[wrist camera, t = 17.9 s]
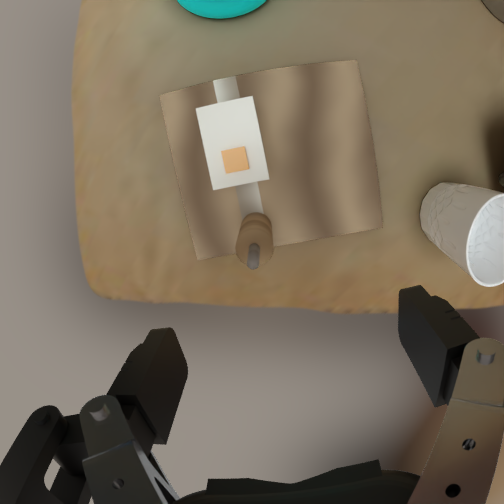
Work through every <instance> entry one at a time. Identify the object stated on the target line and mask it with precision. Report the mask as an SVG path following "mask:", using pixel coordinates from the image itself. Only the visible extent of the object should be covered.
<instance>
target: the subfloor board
mask: <svg viewBox="0 0 504 504" xmlns="http://www.w3.org/2000/svg"><path fill="white" fill-rule="evenodd" d="M159 96H160V101H161V106H162V111H163V116H164V121H165V126H166V130H167V135H168V140H169V144H170V149H171V154H172V158H173V163H174V167H175V171H176V176H177V180H178V184H179V188H180V193H181V197H182V201H183V205H184V209H185V213H186V217H187V221H188V225H189V229H190V233H191V237H192V241H193V245H194V248H195V252H196V256H197V260H202V259H208V258H214V257H219V256H225V255H231V254H236V250H235V246H236V241H237V238H238V234H239V230H240V227H241V223H242V221H243V219H244V218H245V217H246V216H247V215H248V214H250V213H253V212H259V213H262V214H264V215H266V216H267V217H268V218H269V219H270V221H271V224H272V235H273V246H274V247H276V246H282V245H287V244H293V243H299V242H304V241H310V240H316V239H322V238H327V237H333V236H339V235H344V234H350V233H356V232H361V231H367V230H373V229H378V228H383V221H382V210H381V199H380V190H379V181H378V173H377V165H376V158H375V151H374V145H373V138H372V132H371V126H370V121H369V115H368V110H367V105H366V100H365V95H364V90H363V86H362V81H361V77H360V72H359V68H358V64H357V60H347V61H333V62H322V63H313V64H304V65H296V66H289V67H282V68H275V69H269V70H263V71H257V72H252V73H247V74H242V75H237V76H232V77H227V78H223V79H218V80H214V81H210V82H206V83H202V84H198V85H194V86H190V87H186V88H183V89H179V90H176V91H172V92H169V93H166V94H162V95H159ZM249 96H253V100H254V104H255V109H256V113H257V118H258V123H259V128H260V133H261V138H262V143H263V148H264V153H265V158H266V163H267V168H268V173H269V179H268V180H263V181H257V182H252V183H247V184H242V185H237V186H232V187H227V188H222V189H217V190H213V187H212V183H211V178H210V174H209V169H208V164H207V160H206V155H205V151H204V146H203V141H202V137H201V132H200V127H199V123H198V118H197V113H196V108H200V107H204V106H208V105H212V104H216V103H220V102H225V101H230V100H234V99H239V98H244V97H249Z"/></svg>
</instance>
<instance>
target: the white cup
mask: <svg viewBox="0 0 504 504" xmlns="http://www.w3.org/2000/svg"><path fill="white" fill-rule="evenodd" d="M420 221H421V228H422V230H423V231H424V233H425V234H426V236H427V237H428V239H429V240H430V241H432V242H433V243H434V244H435V245H437V247H438V248H439V249H440V250H441V251H442V252H443V253H445V254H446V255H447V256H448V257H449V258H450V259H451V260H452V261H453V262H455V263H456V264H457V265H458V266H459V267H460V268H461V269H463V270H464V271H465V272H466V273H467V274H468V275H469V276H470V277H472V278H473V279H474V280H475V281H476V282H477V283H479V284H480V285H482V286H486V287H492V286H497V285H499V284H501V283H503V282H504V193H503V192H499V191H495V190H491V189H487V188H482V187H477V186H471V185H466V184H457V183H439V184H438V185H436V186H434V187H433V188H431V189H430V190H429V192H428V193H427V195H426V196H425V198H424V199H423V201H422V206H421V210H420Z"/></svg>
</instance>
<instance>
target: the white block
mask: <svg viewBox="0 0 504 504" xmlns="http://www.w3.org/2000/svg"><path fill="white" fill-rule="evenodd" d="M196 113H197V118H198V123H199V127H200V132H201V137H202V141H203V146H204V151H205V155H206V160H207V164H208V169H209V174H210V178H211V183H212V187H213V190H217V189H222V188H227V187H232V186H237V185H242V184H247V183H252V182H257V181H263V180H268V179H269V173H268V168H267V163H266V158H265V153H264V148H263V143H262V138H261V133H260V128H259V123H258V118H257V113H256V109H255V104H254V100H253V96H249V97H244V98H239V99H234V100H230V101H225V102H220V103H216V104H212V105H208V106H204V107H200V108H196Z"/></svg>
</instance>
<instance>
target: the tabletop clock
mask: <svg viewBox="0 0 504 504" xmlns="http://www.w3.org/2000/svg"><path fill="white" fill-rule="evenodd" d="M499 183H500V184H501V185H502V186H503V187H504V173H501V174H500V176H499Z"/></svg>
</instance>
